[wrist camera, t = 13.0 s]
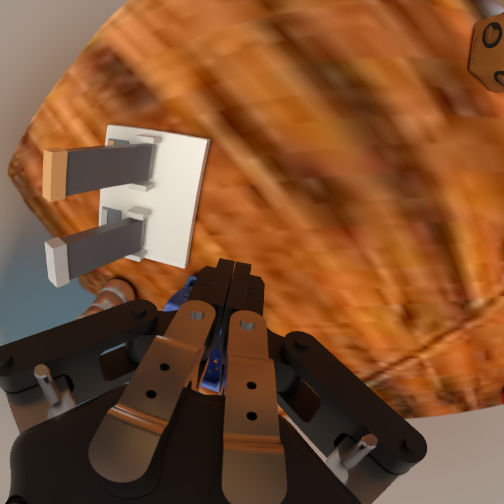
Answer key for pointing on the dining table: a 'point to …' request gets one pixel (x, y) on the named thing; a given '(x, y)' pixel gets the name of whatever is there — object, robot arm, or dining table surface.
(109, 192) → the switch unit
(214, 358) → the flower pot
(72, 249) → the lever grey
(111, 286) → the plastic bottle
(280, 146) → the dining table surface
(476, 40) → the coffee package
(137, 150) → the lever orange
